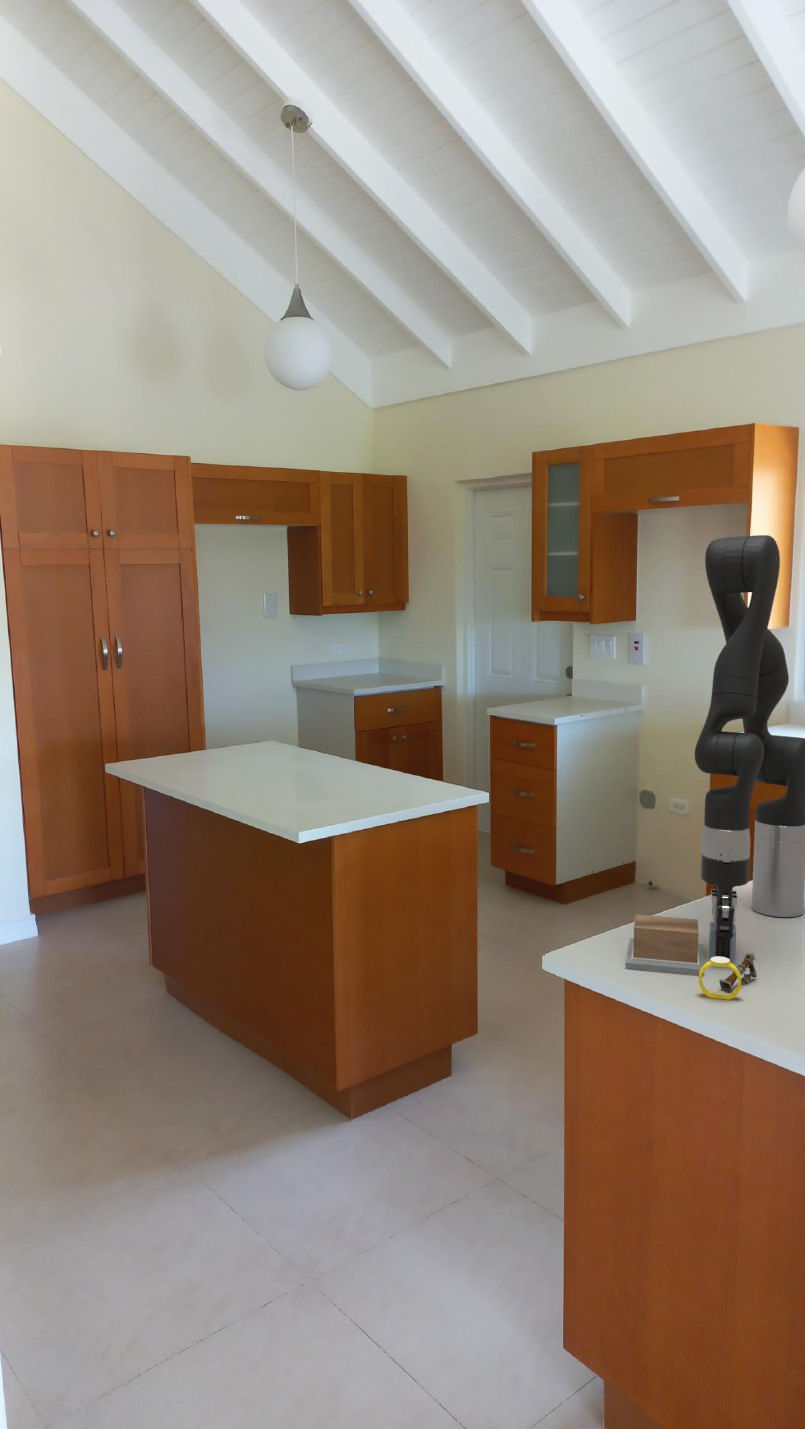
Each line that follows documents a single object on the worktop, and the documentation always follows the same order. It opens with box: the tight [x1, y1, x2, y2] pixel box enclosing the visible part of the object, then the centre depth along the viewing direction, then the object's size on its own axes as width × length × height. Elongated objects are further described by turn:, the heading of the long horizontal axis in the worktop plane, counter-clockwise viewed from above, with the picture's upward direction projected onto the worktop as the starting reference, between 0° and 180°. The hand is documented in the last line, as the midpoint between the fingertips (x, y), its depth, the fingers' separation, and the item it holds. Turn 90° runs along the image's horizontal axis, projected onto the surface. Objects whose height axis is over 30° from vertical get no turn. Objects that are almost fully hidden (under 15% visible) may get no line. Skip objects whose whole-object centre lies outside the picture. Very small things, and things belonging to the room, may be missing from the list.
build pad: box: [625, 937, 705, 977], centre depth 164 cm, size 12×12×1 cm
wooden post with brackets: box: [718, 952, 758, 993], centre depth 153 cm, size 2×8×4 cm, turn 128°
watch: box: [698, 956, 742, 1001], centre depth 148 cm, size 6×3×6 cm, turn 73°
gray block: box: [708, 921, 737, 962], centre depth 165 cm, size 4×4×5 cm
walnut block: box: [633, 914, 700, 963], centre depth 164 cm, size 7×10×5 cm
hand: (722, 953), depth 165 cm, fingers closed on gray block, 4 cm apart
